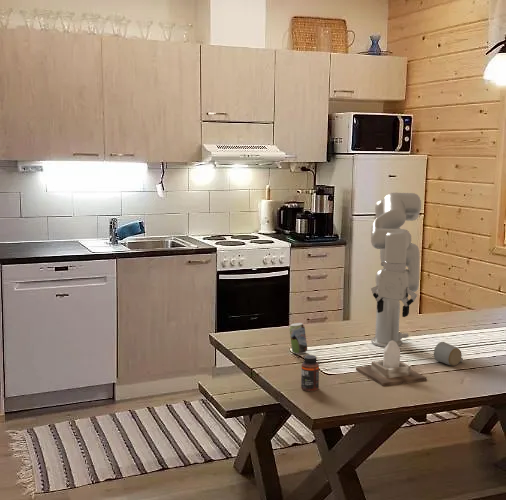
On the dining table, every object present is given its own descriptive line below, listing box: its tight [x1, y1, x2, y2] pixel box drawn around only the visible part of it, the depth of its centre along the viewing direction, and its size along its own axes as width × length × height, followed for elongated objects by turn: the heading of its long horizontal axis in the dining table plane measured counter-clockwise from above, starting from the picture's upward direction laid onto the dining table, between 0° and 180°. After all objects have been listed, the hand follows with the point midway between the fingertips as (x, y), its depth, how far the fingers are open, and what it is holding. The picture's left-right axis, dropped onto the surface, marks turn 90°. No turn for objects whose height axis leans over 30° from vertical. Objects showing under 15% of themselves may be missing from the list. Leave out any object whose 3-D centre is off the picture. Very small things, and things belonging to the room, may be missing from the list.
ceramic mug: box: [433, 341, 463, 367], centre depth 265 cm, size 11×8×8 cm
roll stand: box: [355, 359, 427, 387], centre depth 250 cm, size 18×18×4 cm
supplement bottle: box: [300, 354, 320, 392], centre depth 234 cm, size 6×6×11 cm
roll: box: [382, 341, 401, 369], centre depth 249 cm, size 6×12×6 cm
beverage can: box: [288, 322, 308, 355], centre depth 274 cm, size 6×7×12 cm
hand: (392, 314), depth 248 cm, fingers open, 9 cm apart
